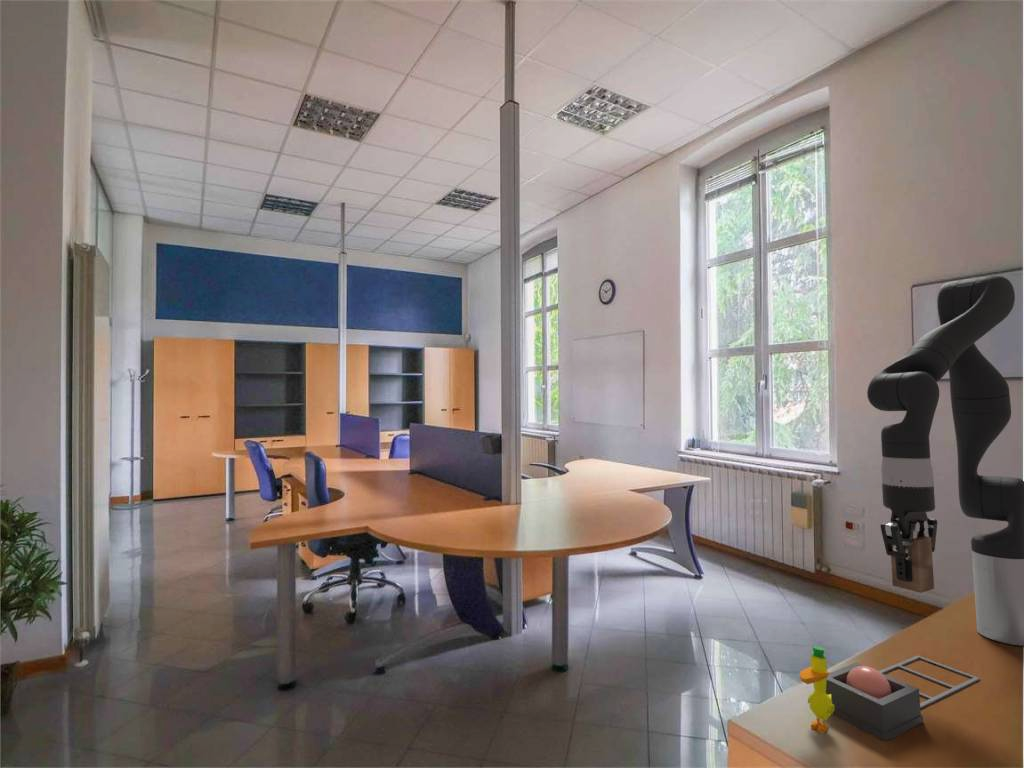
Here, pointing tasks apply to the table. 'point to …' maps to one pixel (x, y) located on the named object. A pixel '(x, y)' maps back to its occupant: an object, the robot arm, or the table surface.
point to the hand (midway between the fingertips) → (912, 578)
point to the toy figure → (818, 688)
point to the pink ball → (869, 681)
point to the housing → (875, 705)
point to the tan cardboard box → (917, 567)
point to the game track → (942, 695)
